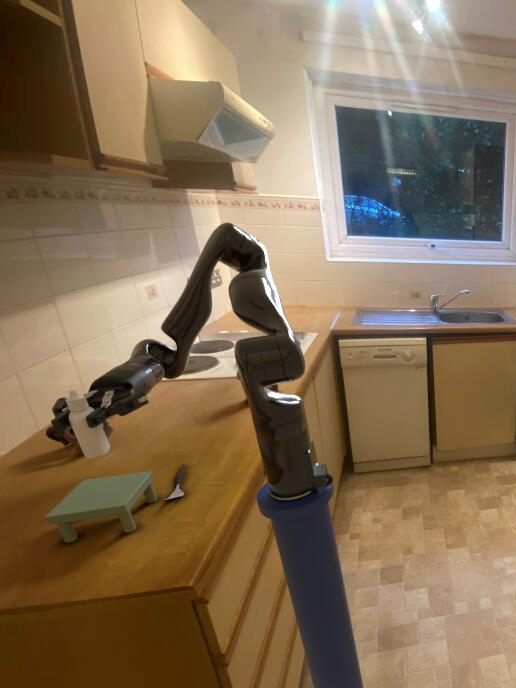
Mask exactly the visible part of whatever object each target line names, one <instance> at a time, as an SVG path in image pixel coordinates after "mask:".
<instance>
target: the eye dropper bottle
mask: <svg viewBox="0 0 516 688" xmlns="http://www.w3.org/2000/svg"><path fill="white" fill-rule="evenodd" d="M68 392H69V397H66V398H67V399H66V403H67V405H68V407H69V410H70V411H71V412H70V414H69V421H70V424H71V426H72V428H73V431H74V433H75V435H76V437H77V440H78V442H79V444H80V446H81V449H82V451H83V453H84V454H83V455H84V457H85V458H86V459H88V460H92V459H96V458H101V457H103V456H105V455H106V454H108V453H109V452H110V450H111V445H110V442H109V439H108V438H107V437H106V434H105V432H104V430H103V424H102V423H101V424H99V425H98V426H97V427H95V428H89V426H88V424H87V421H86V416H87V415H89V414H90V413H91V412H93V411H94V409H93V408H92V407H89V405H88V402H87V400H86V398H85V396H84V394H79V393H78V392H77V391H76V389H70V390H69V391H68Z"/></svg>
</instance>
